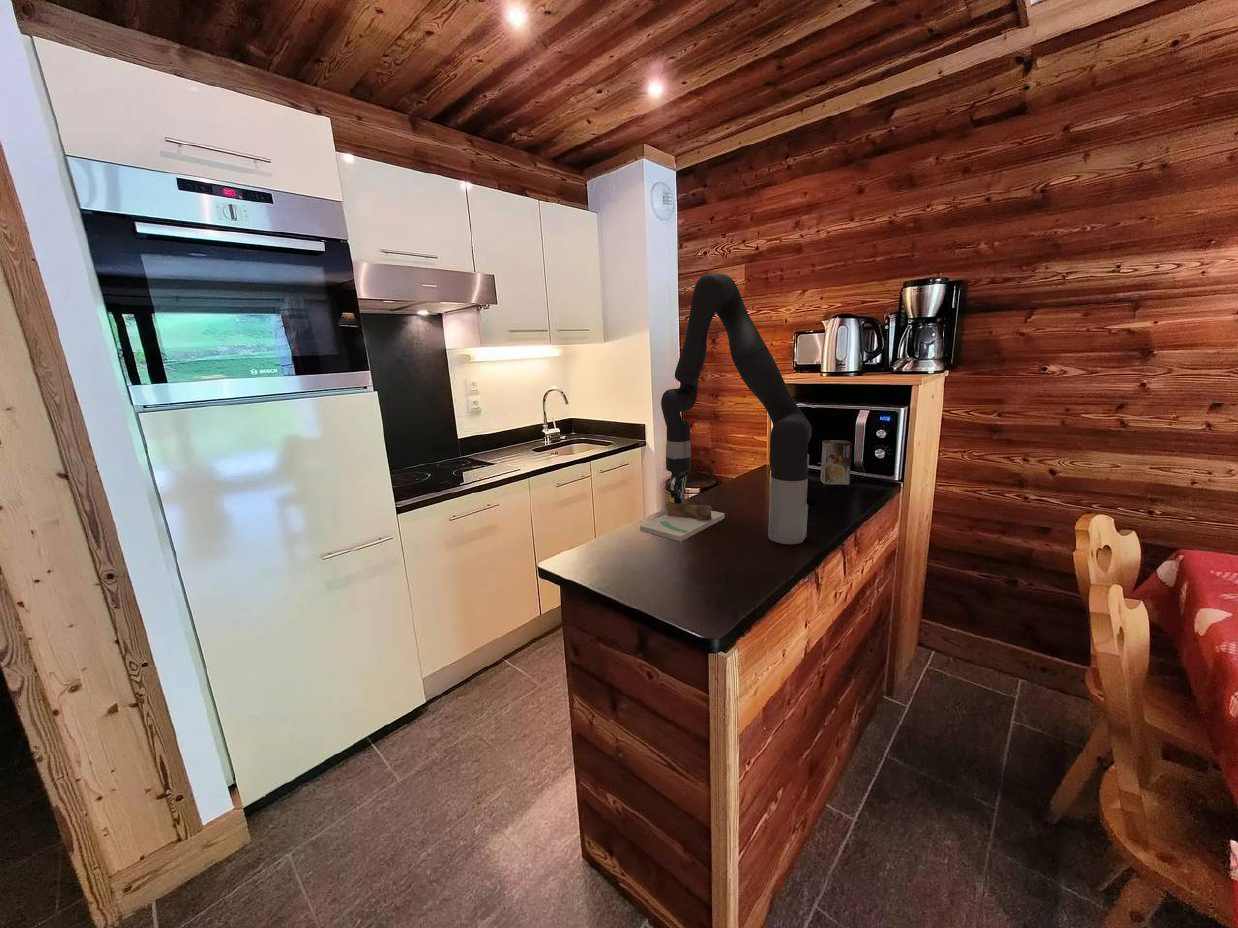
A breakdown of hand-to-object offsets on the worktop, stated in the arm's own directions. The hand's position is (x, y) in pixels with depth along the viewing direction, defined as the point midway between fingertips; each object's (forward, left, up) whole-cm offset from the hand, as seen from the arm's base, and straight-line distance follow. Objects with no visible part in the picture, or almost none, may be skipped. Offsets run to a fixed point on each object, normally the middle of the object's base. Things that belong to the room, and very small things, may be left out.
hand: (678, 509), depth 149 cm
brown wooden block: (0, +5, -1) cm, 5 cm away
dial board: (+3, +6, -3) cm, 7 cm away
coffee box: (-73, +4, -3) cm, 73 cm away
